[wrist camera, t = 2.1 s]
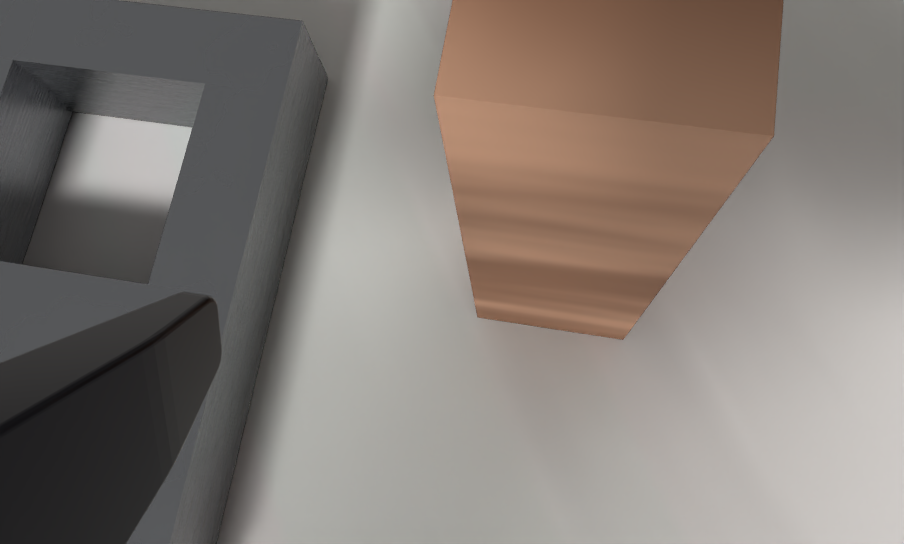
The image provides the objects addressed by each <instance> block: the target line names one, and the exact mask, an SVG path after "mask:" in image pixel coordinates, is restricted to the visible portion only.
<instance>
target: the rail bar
mask: <svg viewBox="0 0 904 544" xmlns="http://www.w3.org/2000/svg"><path fill="white" fill-rule="evenodd" d="M327 80H328V77H327V75H326V72H325V70H324V68H323V66H322V63H321V61H320V59H319V57H318V54H317V52H316V50H315V48H314V45H313V43H312V41H311V39H310V37H309V34H308V32H307V30H306V28H305V25H304V23H303V21H299V20H290V19H281V18H272V17H263V16H254V15H245V14H236V13H227V12H218V11H209V10H200V9H191V8H182V7H173V6H164V5H155V4H146V3H137V2H128V1H119V0H0V363H1V362H3V361H6V360H8V359H11V358H13V357H16V356H18V355H21V354H24V353H26V352H29V351H31V350H34V349H36V348H39V347H41V346H44V345H47V344H49V343H52V342H54V341H57V340H59V339H62V338H65V337H67V336H70V335H72V334H75V333H77V332H80V331H82V330H85V329H88V328H90V327H93V326H95V325H98V324H100V323H103V322H105V321H108V320H111V319H113V318H116V317H118V316H121V315H123V314H126V313H128V312H131V311H134V310H136V309H139V308H141V307H144V306H146V305H149V304H151V303H154V302H157V301H159V300H162V299H164V298H167V297H169V296H172V295H174V294H177V293H180V292H190V293H196V294H202V295H209V296H211V297H212V298H214V299H215V301H216V303H217V306H218V314H219V324H220V334H221V344H222V358H221V362H220V366H219V369H218V371H217V373H216V375H215V377H214V380H213V382H212V384H211V386H210V388H209V390H208V393H207V395H206V397H205V399H204V401H203V404H202V406H201V408H200V410H199V412H198V414H197V417H196V419H195V421H194V423H193V425H192V427H191V430H190V432H189V434H188V436H187V438H186V440H185V443H184V445H183V447H182V449H181V451H180V453H179V455H178V457H177V459H176V461H175V463H174V465H173V467H172V469H171V471H170V472H169V474H168V476H167V478H166V479H165V481H164V483H163V484H162V486H161V488H160V489H159V491H158V493H157V494H156V496H155V498H154V499H153V501H152V502H151V504H150V506H149V507H148V509H147V511H146V512H145V514H144V516H143V517H142V519H141V521H140V522H139V524H138V525H137V527H136V529H135V530H134V532H133V534H132V535H131V537H130V539H129V540H128V542H127V543H126V544H216V543H217V539H218V535H219V530H220V526H221V522H222V518H223V514H224V510H225V505H226V501H227V497H228V493H229V489H230V485H231V480H232V476H233V472H234V468H235V464H236V460H237V455H238V451H239V447H240V443H241V439H242V434H243V430H244V426H245V422H246V418H247V414H248V409H249V405H250V401H251V397H252V393H253V389H254V384H255V380H256V376H257V372H258V368H259V364H260V359H261V355H262V351H263V347H264V343H265V338H266V334H267V330H268V326H269V322H270V318H271V313H272V309H273V305H274V301H275V297H276V293H277V288H278V284H279V280H280V276H281V272H282V268H283V263H284V259H285V255H286V251H287V247H288V242H289V238H290V234H291V230H292V226H293V222H294V217H295V213H296V209H297V205H298V201H299V197H300V192H301V188H302V184H303V180H304V176H305V172H306V167H307V163H308V159H309V155H310V151H311V146H312V142H313V138H314V134H315V130H316V126H317V121H318V117H319V113H320V109H321V105H322V101H323V96H324V92H325V88H326V84H327ZM72 112H80V113H88V114H95V115H103V116H111V117H118V118H126V119H134V120H141V121H149V122H157V123H164V124H172V125H180V126H188V127H193V128H192V132H191V135H190V139H189V142H188V146H187V149H186V153H185V156H184V160H183V163H182V167H181V170H180V174H179V177H178V181H177V184H176V188H175V191H174V195H173V198H172V202H171V205H170V209H169V212H168V216H167V219H166V223H165V226H164V230H163V233H162V237H161V240H160V244H159V247H158V251H157V254H156V258H155V261H154V265H153V268H152V272H151V275H150V279H149V282H148V284H143V283H137V282H130V281H124V280H117V279H111V278H105V277H98V276H92V275H86V274H79V273H73V272H66V271H60V270H54V269H47V268H41V267H35V266H28V265H22V262H23V259H24V256H25V253H26V250H27V247H28V244H29V241H30V238H31V235H32V232H33V229H34V226H35V223H36V220H37V217H38V214H39V211H40V208H41V205H42V202H43V199H44V196H45V193H46V190H47V187H48V184H49V181H50V178H51V175H52V172H53V169H54V166H55V163H56V160H57V157H58V154H59V151H60V148H61V145H62V142H63V139H64V136H65V133H66V130H67V127H68V124H69V121H70V118H71V115H72Z"/></svg>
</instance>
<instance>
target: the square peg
mask: <svg viewBox="0 0 904 544" xmlns="http://www.w3.org/2000/svg"><path fill="white" fill-rule="evenodd" d="M782 13H783V0H453V1H452V6H451V11H450V16H449V21H448V26H447V31H446V36H445V41H444V46H443V51H442V56H441V61H440V67H439V72H438V77H437V82H436V87H435V92H434V99H435V104H436V109H437V114H438V119H439V124H440V129H441V134H442V139H443V144H444V149H445V154H446V159H447V165H448V170H449V175H450V180H451V185H452V190H453V195H454V200H455V205H456V210H457V215H458V220H459V225H460V230H461V236H462V241H463V246H464V251H465V256H466V261H467V266H468V271H469V276H470V281H471V286H472V291H473V296H474V301H475V307H476V312H477V317H479V318H485V319H492V320H498V321H505V322H511V323H518V324H524V325H531V326H537V327H544V328H550V329H557V330H563V331H570V332H576V333H583V334H589V335H596V336H602V337H609V338H615V339H622V340H623V339H624V338H625V337H626V335H627V334H628V333H629V331H630V330H631V328H632V327H633V326H634V324H635V323H636V322H637V320H638V319H639V318H640V316H641V315H642V314H643V312H644V311H645V310H646V308H647V307H648V305H649V304H650V303H651V301H652V300H653V299H654V297H655V296H656V295H657V293H658V292H659V291H660V289H661V288H662V287H663V285H664V284H665V283H666V281H667V280H668V278H669V277H670V276H671V274H672V273H673V272H674V270H675V269H676V268H677V266H678V265H679V264H680V262H681V261H682V260H683V258H684V257H685V255H686V254H687V253H688V251H689V250H690V249H691V247H692V246H693V245H694V243H695V242H696V241H697V239H698V238H699V237H700V235H701V234H702V233H703V231H704V230H705V228H706V227H707V226H708V224H709V223H710V222H711V220H712V219H713V218H714V216H715V215H716V214H717V212H718V211H719V210H720V208H721V207H722V205H723V204H724V203H725V201H726V200H727V199H728V197H729V196H730V195H731V193H732V192H733V191H734V189H735V188H736V187H737V185H738V184H739V183H740V181H741V180H742V178H743V177H744V176H745V174H746V173H747V172H748V170H749V169H750V168H751V166H752V165H753V164H754V162H755V161H756V160H757V158H758V157H759V155H760V154H761V153H762V151H763V150H764V149H765V147H766V146H767V145H768V143H769V142H770V141H771V139H772V138H773V137H774V127H775V113H776V98H777V84H778V70H779V56H780V41H781V27H782Z"/></svg>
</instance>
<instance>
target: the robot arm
mask: <svg viewBox="0 0 904 544" xmlns="http://www.w3.org/2000/svg"><path fill="white" fill-rule="evenodd" d="M221 358H222V344H221V334H220V324H219V314H218V306H217V303H216V301H215V299H214V298H212V297H211V296H209V295H202V294H196V293H190V292H180V293H177V294H174V295H172V296H169V297H167V298H164V299H162V300H159V301H157V302H154V303H151V304H149V305H146V306H144V307H141V308H139V309H136V310H134V311H131V312H128V313H126V314H123V315H121V316H118V317H116V318H113V319H111V320H108V321H105V322H103V323H100V324H98V325H95V326H93V327H90V328H88V329H85V330H82V331H80V332H77V333H75V334H72V335H70V336H67V337H65V338H62V339H59V340H57V341H54V342H52V343H49V344H47V345H44V346H41V347H39V348H36V349H34V350H31V351H29V352H26V353H24V354H21V355H18V356H16V357H13V358H11V359H8V360H6V361H3V362H1V363H0V544H126V543H127V542H128V540H129V539H130V537H131V535H132V534H133V532H134V530H135V529H136V527H137V525H138V524H139V522H140V521H141V519H142V517H143V516H144V514H145V512H146V511H147V509H148V507H149V506H150V504H151V502H152V501H153V499H154V498H155V496H156V494H157V493H158V491H159V489H160V488H161V486H162V484H163V483H164V481H165V479H166V478H167V476H168V474H169V472H170V471H171V469H172V467H173V465H174V463H175V461H176V459H177V457H178V455H179V453H180V451H181V449H182V447H183V445H184V443H185V440H186V438H187V436H188V434H189V432H190V430H191V427H192V425H193V423H194V421H195V419H196V417H197V414H198V412H199V410H200V408H201V406H202V404H203V401H204V399H205V397H206V395H207V393H208V390H209V388H210V386H211V384H212V382H213V380H214V377H215V375H216V373H217V371H218V369H219V366H220V362H221Z"/></svg>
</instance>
